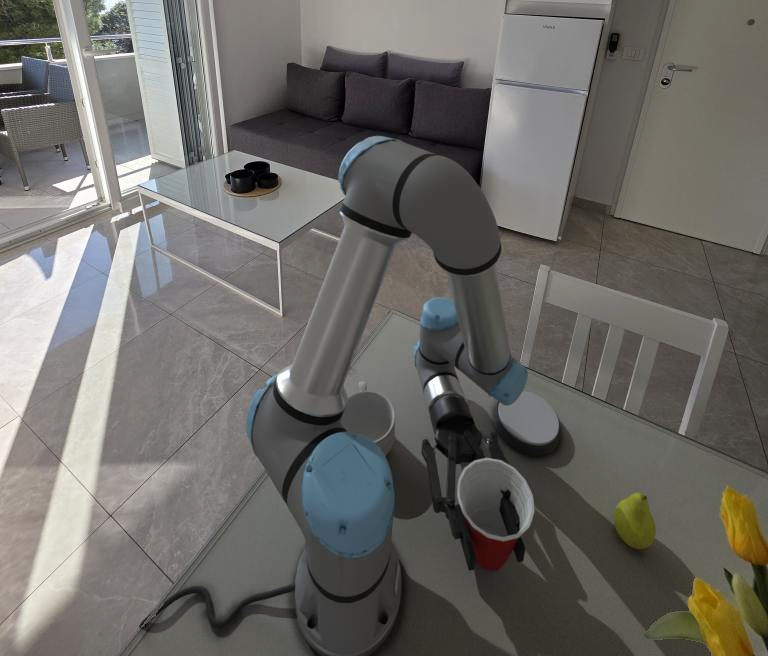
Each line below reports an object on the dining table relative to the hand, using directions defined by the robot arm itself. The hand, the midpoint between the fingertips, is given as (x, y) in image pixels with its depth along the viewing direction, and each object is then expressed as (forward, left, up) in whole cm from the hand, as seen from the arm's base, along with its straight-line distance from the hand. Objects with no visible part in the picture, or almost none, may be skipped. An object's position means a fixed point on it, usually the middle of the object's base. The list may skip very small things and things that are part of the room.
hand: (497, 559), depth 59 cm
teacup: (-17, +24, -9) cm, 31 cm away
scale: (+15, +26, -8) cm, 31 cm away
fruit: (+25, +6, -9) cm, 27 cm away
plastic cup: (+1, +5, -7) cm, 8 cm away
